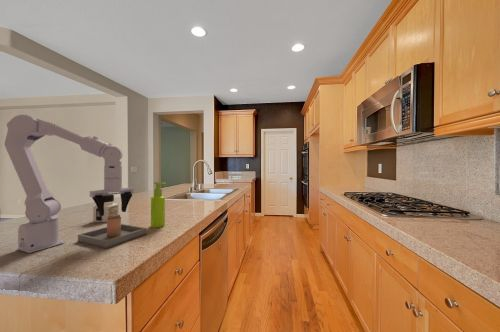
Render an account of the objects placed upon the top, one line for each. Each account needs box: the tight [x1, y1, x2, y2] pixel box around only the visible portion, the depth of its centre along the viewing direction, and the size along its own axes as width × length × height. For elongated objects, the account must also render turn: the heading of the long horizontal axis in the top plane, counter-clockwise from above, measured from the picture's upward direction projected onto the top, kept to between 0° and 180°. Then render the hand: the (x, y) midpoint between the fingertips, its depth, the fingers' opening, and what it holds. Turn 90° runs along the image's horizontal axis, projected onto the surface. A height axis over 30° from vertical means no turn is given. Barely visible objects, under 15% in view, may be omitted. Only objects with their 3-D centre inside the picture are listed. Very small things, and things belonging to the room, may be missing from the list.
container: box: [92, 194, 119, 223], centre depth 107 cm, size 8×8×13 cm
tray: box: [77, 223, 148, 250], centre depth 82 cm, size 16×16×2 cm
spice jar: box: [106, 214, 122, 238], centre depth 82 cm, size 5×5×8 cm
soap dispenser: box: [150, 181, 167, 228], centre depth 98 cm, size 6×7×20 cm
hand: (113, 213), depth 82 cm, fingers open, 7 cm apart
